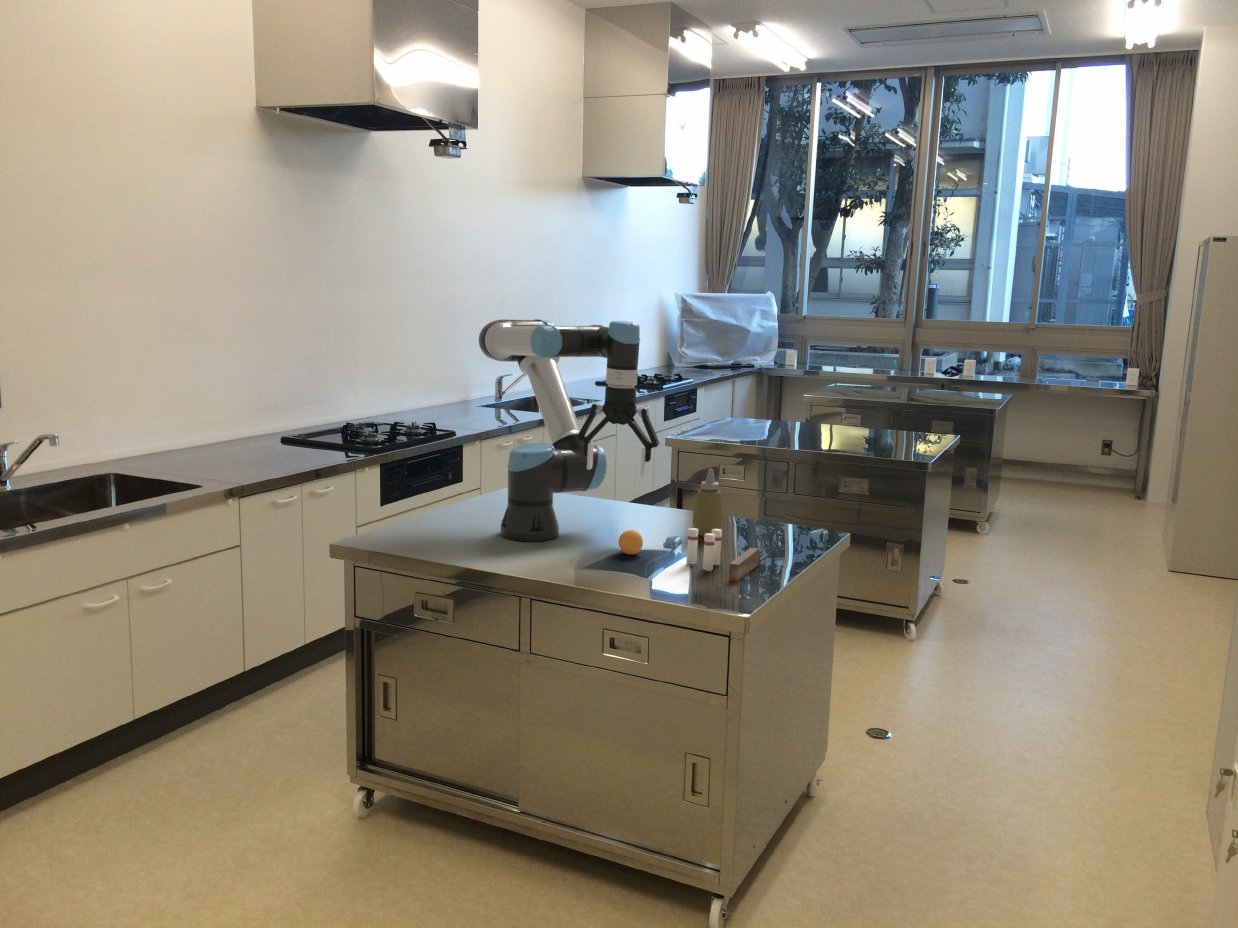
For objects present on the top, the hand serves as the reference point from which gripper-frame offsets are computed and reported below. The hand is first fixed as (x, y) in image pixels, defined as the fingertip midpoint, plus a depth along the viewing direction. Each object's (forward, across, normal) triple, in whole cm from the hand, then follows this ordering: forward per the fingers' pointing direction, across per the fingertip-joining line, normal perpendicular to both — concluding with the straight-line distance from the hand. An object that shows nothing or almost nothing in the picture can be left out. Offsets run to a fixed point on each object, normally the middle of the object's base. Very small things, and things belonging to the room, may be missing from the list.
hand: (616, 471), depth 241 cm
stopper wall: (+18, +34, -10) cm, 40 cm away
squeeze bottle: (+20, +21, +21) cm, 36 cm away
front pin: (+19, +22, -8) cm, 30 cm away
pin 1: (+18, +26, -11) cm, 34 cm away
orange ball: (+16, +6, -5) cm, 18 cm away
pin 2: (+19, +27, -6) cm, 33 cm away
